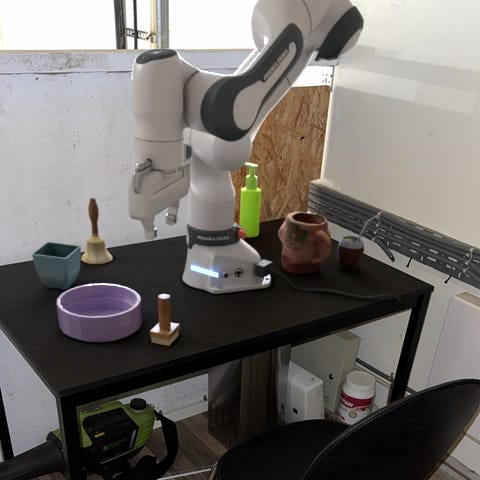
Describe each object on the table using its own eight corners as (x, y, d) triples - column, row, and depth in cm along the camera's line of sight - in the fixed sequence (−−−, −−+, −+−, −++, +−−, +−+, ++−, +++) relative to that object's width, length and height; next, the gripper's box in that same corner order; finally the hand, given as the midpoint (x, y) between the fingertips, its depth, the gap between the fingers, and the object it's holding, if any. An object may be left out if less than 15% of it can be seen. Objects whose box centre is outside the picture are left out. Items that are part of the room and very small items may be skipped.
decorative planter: (346, 278, 168) (353, 225, 160) (311, 287, 162) (317, 232, 154) (297, 254, 181) (302, 204, 173) (263, 262, 175) (266, 210, 167)
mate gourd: (329, 265, 175) (336, 210, 166) (352, 261, 178) (360, 206, 169) (346, 275, 170) (354, 218, 161) (369, 270, 173) (379, 214, 164)
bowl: (138, 306, 148) (137, 282, 145) (144, 341, 134) (143, 315, 131) (61, 310, 145) (57, 285, 142) (59, 346, 131) (55, 319, 128)
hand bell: (116, 254, 175) (112, 194, 165) (108, 265, 168) (103, 203, 159) (86, 252, 175) (80, 192, 166) (77, 263, 168) (70, 201, 159)
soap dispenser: (243, 228, 197) (246, 160, 186) (262, 233, 194) (266, 164, 182) (232, 233, 193) (235, 163, 182) (251, 238, 190) (255, 168, 178)
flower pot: (70, 294, 152) (66, 258, 147) (36, 290, 153) (30, 253, 148) (85, 280, 159) (81, 245, 154) (52, 276, 160) (47, 241, 155)
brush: (161, 331, 138) (159, 289, 133) (179, 335, 137) (179, 292, 132) (150, 342, 134) (148, 299, 128) (169, 346, 133) (168, 303, 127)
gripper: (150, 168, 106) (153, 250, 114) (196, 145, 122) (196, 218, 130) (116, 164, 107) (121, 245, 115) (165, 141, 123) (167, 214, 131)
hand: (161, 230), depth 122 cm, fingers open, 8 cm apart
